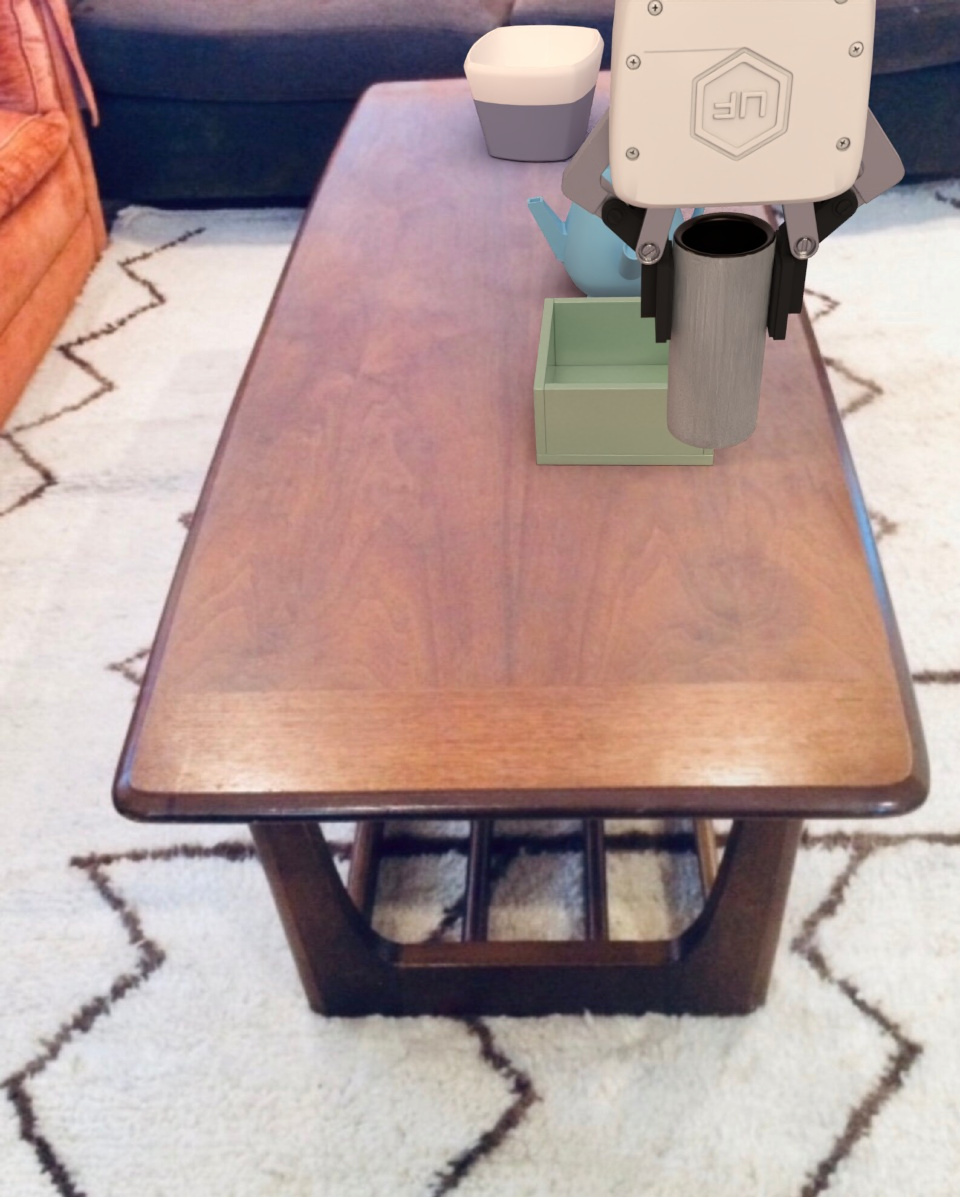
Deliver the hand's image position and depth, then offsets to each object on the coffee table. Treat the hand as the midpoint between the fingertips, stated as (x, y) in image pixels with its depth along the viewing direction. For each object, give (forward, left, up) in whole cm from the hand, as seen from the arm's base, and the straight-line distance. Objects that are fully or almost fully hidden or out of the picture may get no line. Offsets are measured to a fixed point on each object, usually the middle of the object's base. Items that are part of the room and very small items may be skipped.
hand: (718, 323), depth 52 cm
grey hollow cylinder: (0, 0, -6) cm, 6 cm away
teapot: (+5, -51, -25) cm, 57 cm away
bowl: (+15, -86, -25) cm, 90 cm away
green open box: (+4, -29, -25) cm, 38 cm away
